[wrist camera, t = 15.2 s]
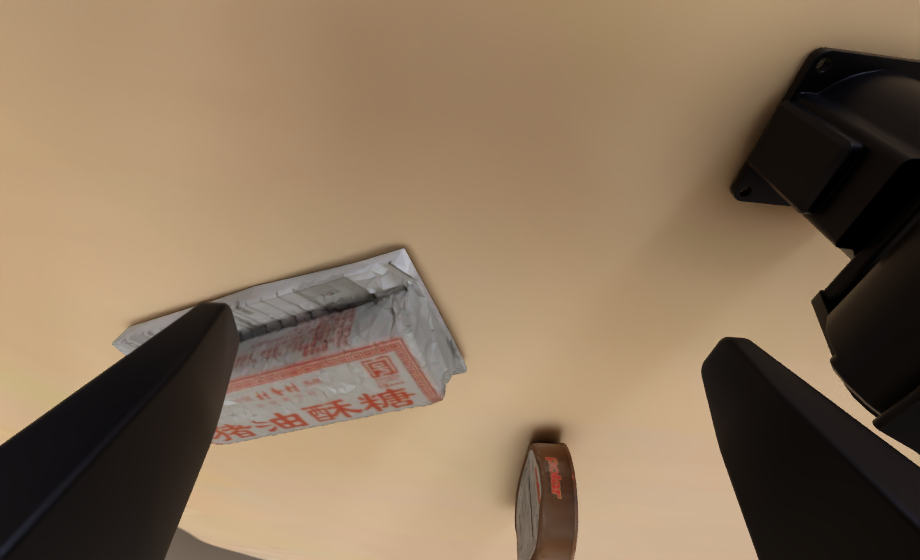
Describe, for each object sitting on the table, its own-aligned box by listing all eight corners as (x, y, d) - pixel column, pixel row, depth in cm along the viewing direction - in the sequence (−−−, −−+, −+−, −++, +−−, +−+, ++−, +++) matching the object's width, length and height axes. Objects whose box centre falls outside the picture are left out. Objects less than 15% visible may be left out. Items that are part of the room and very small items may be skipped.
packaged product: (398, 306, 19) (470, 424, 26) (406, 239, 23) (467, 356, 29) (71, 393, 23) (205, 477, 29) (122, 322, 26) (231, 411, 33)
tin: (538, 504, 44) (552, 607, 38) (506, 504, 44) (515, 608, 38) (568, 420, 34) (594, 542, 28) (527, 420, 34) (544, 542, 28)
